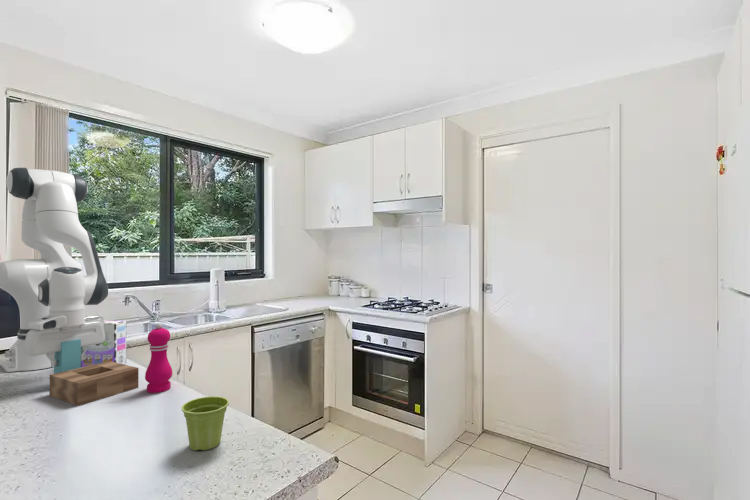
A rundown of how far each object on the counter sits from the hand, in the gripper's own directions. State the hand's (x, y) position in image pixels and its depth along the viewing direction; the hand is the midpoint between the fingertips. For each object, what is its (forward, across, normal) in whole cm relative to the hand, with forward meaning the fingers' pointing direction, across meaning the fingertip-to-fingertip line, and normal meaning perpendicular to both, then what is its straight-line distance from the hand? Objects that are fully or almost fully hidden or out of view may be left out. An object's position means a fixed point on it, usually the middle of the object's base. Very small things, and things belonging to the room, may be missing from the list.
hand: (67, 363), depth 120 cm
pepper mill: (+7, -11, +29) cm, 32 cm away
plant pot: (+7, +5, +70) cm, 70 cm away
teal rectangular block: (+7, 0, 0) cm, 7 cm away
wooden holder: (+7, -1, +14) cm, 16 cm away
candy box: (+7, -16, -11) cm, 21 cm away
